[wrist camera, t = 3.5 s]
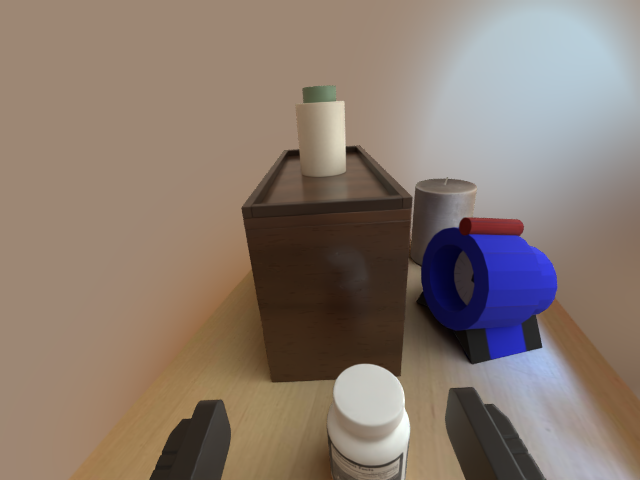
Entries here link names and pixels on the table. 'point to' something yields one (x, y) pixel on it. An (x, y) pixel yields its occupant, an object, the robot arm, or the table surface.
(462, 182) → the pillar candle
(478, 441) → the robot arm
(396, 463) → the pill bottle
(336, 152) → the middle bottle
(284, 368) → the stand
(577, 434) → the table surface
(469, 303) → the blue curved housing
